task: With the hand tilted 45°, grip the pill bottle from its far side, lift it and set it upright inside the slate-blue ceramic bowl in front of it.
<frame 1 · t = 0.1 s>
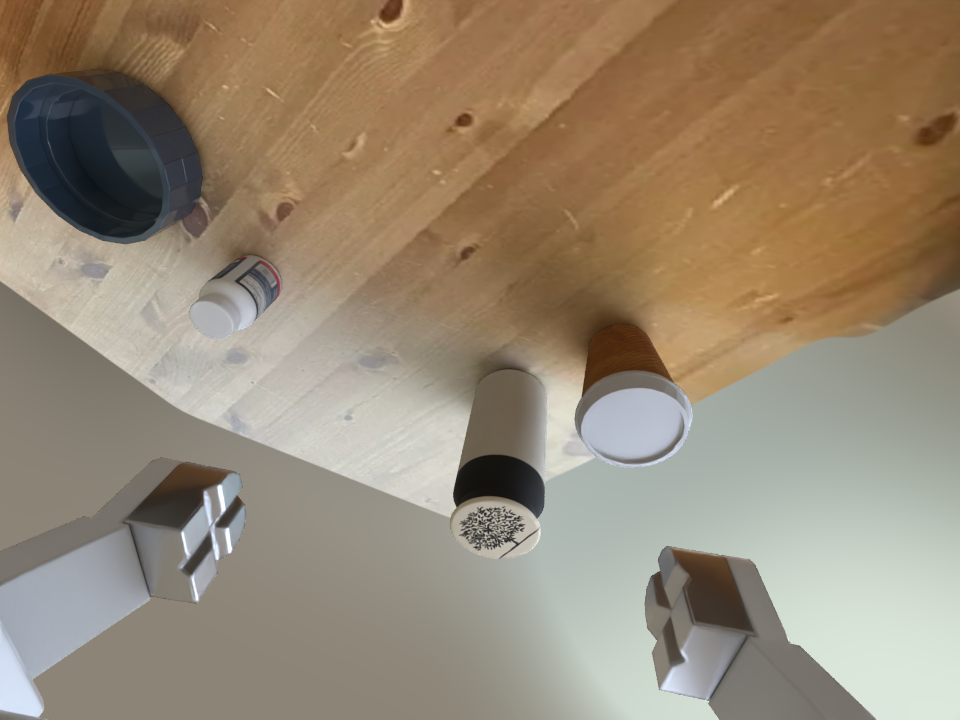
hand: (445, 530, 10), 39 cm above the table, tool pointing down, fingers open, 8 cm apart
bowl: (135, 152, 47), on the table
travel mug: (511, 396, 57), on the table
pill bottle: (259, 277, 53), on the table
disposable coffee cup: (619, 350, 52), on the table
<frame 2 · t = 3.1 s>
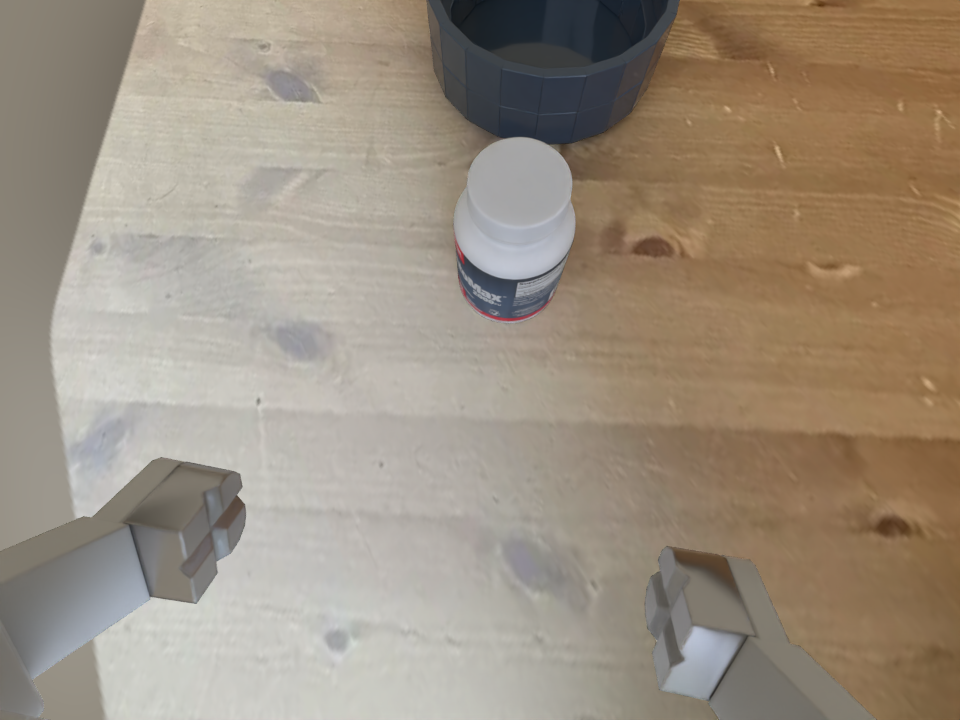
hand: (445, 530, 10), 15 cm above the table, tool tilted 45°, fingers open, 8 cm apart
bowl: (541, 62, 32), on the table
pill bottle: (507, 281, 28), on the table
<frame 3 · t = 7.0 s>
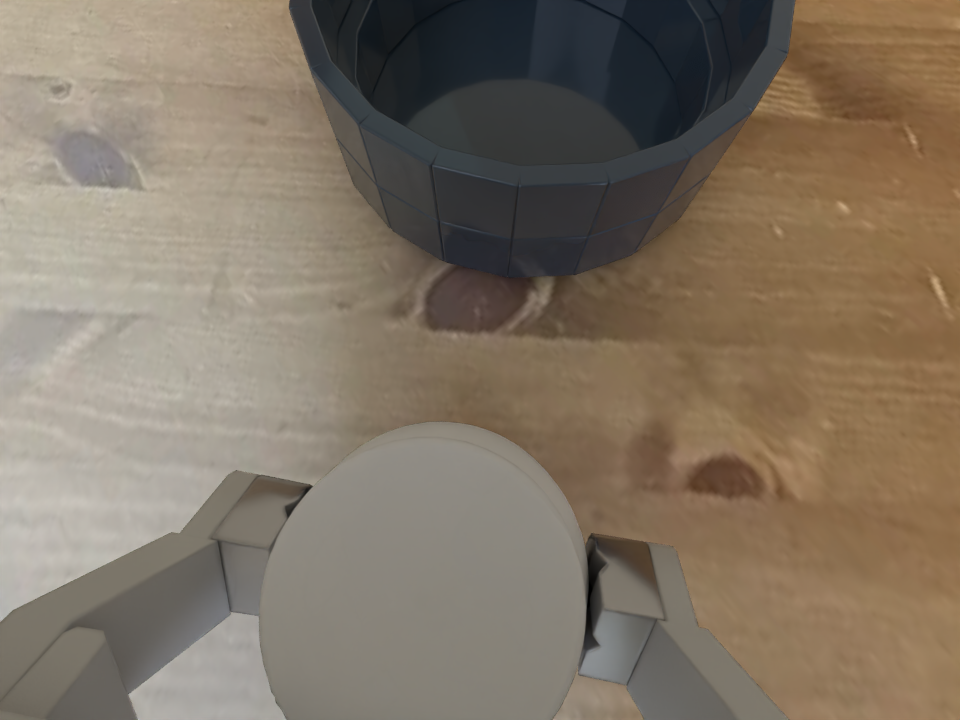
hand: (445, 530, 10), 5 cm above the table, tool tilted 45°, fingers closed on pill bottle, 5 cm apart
bowl: (524, 121, 19), on the table
pill bottle: (453, 546, 15), on the table, touching gripper
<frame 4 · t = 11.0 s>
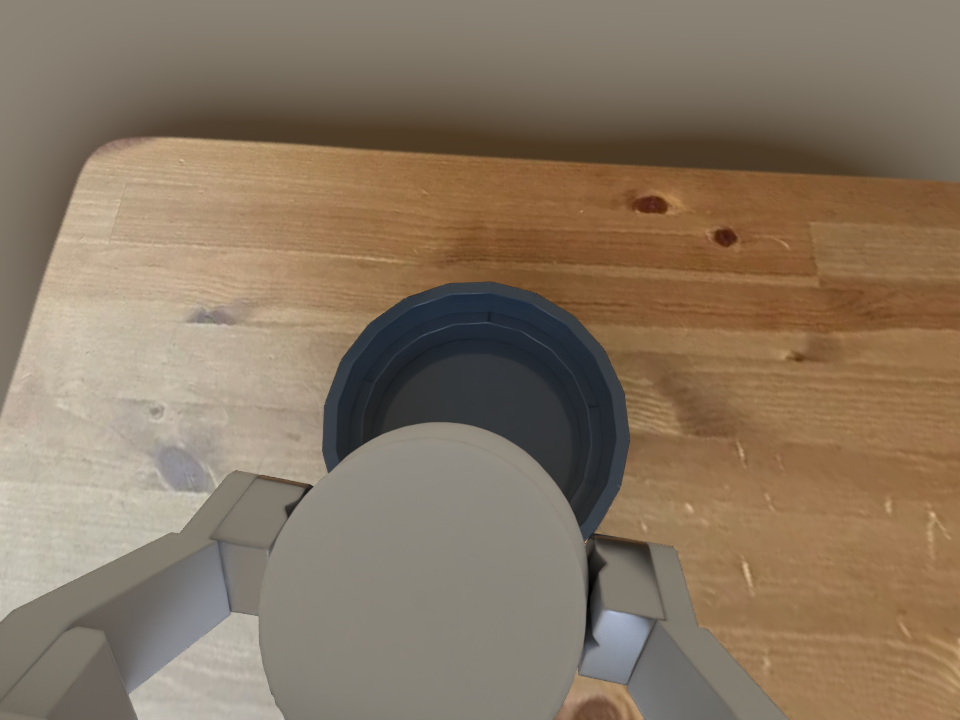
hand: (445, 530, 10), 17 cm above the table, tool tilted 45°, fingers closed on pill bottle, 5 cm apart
bowl: (476, 438, 28), on the table
pill bottle: (453, 547, 15), point 12 cm above the table, touching gripper
when the fingers open (6 cm above the table, at t = 15.3 s): pill bottle stays where it is, resting on bowl.
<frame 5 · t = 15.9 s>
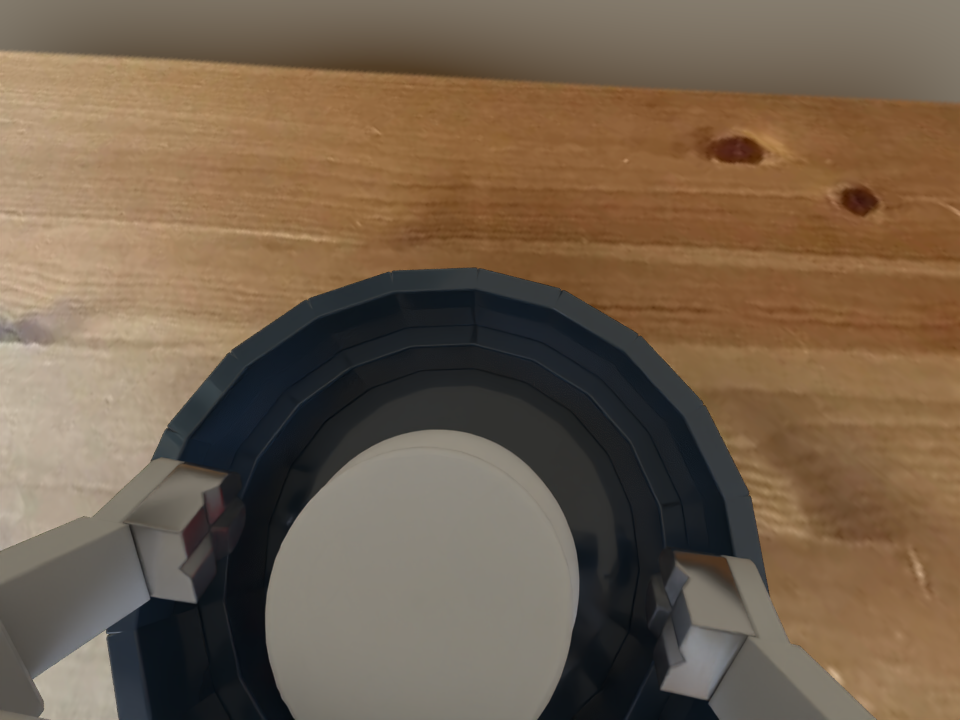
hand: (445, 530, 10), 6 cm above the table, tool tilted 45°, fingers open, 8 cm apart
bowl: (453, 545, 16), on the table
pill bottle: (451, 549, 15), point 1 cm above the table, touching bowl
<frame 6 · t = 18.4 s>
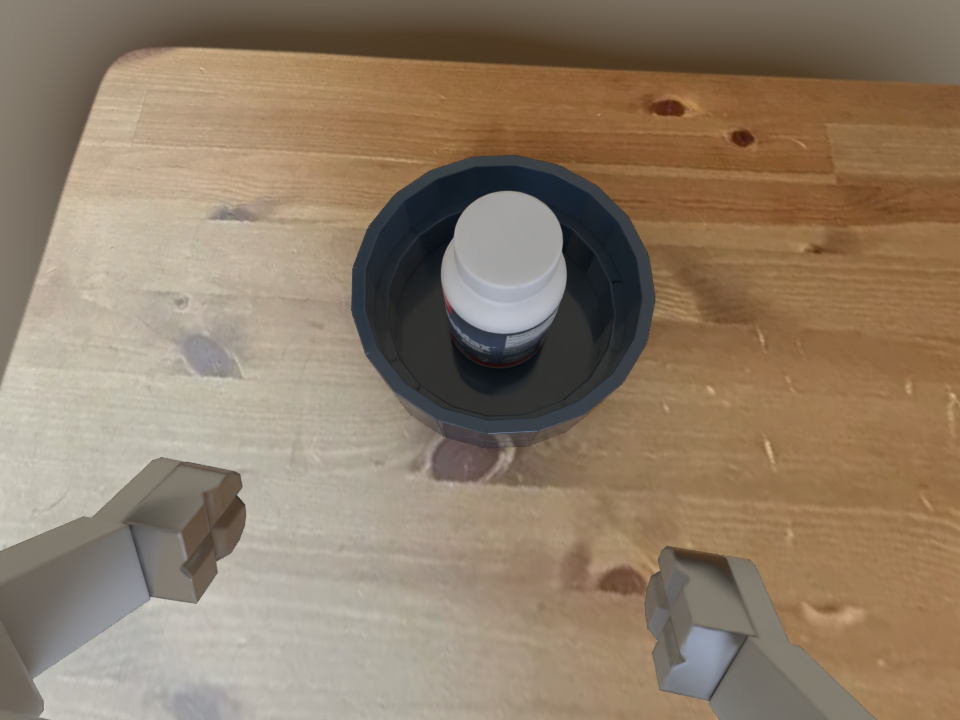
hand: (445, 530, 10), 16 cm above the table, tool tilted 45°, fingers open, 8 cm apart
bowl: (498, 326, 28), on the table
pill bottle: (498, 324, 27), point 1 cm above the table, touching bowl
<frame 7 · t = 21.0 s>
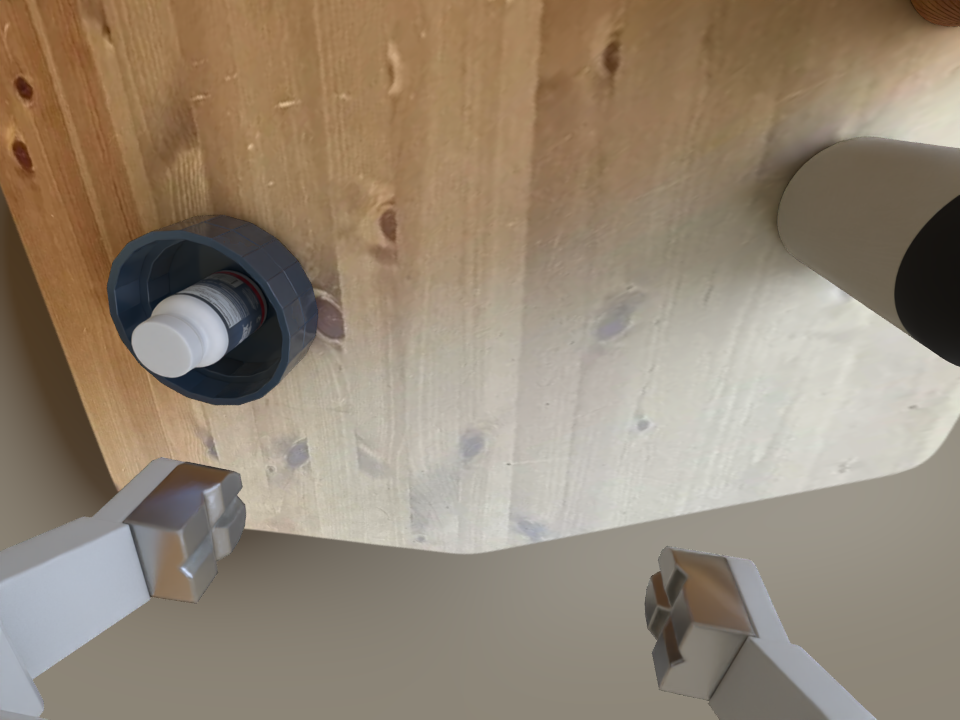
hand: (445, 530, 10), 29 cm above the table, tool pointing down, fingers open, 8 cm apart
bowl: (240, 297, 41), on the table
travel mug: (842, 204, 32), on the table
pill bottle: (238, 300, 40), point 1 cm above the table, touching bowl
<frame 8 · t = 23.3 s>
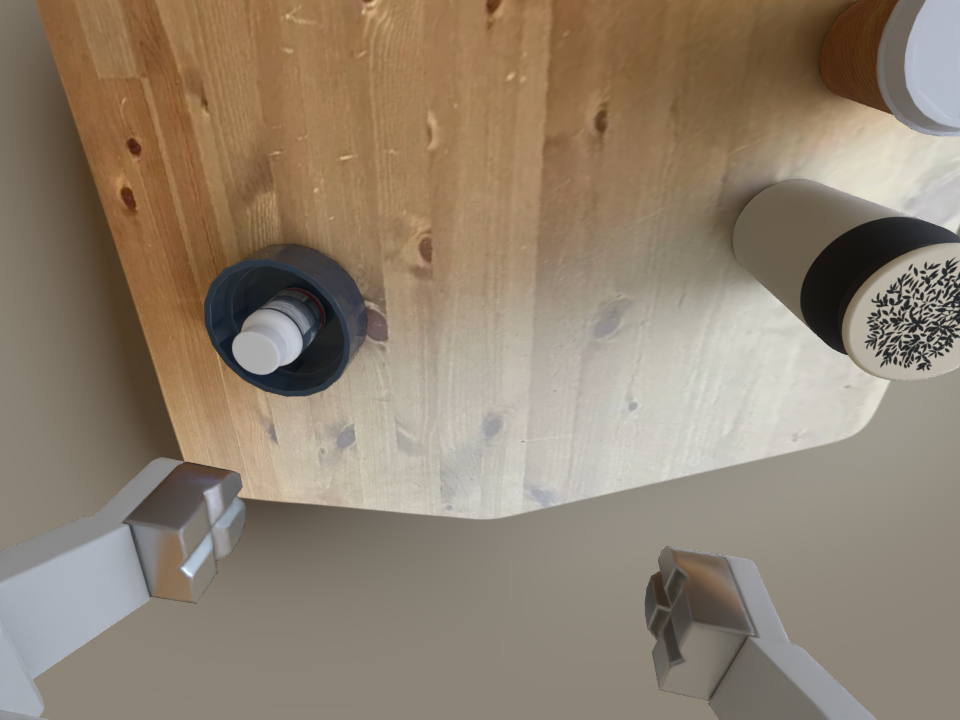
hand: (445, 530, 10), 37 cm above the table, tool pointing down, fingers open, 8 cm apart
bowl: (303, 309, 50), on the table
travel mug: (782, 229, 42), on the table
pill bottle: (301, 311, 50), point 1 cm above the table, touching bowl
disposable coffee cup: (867, 48, 36), on the table
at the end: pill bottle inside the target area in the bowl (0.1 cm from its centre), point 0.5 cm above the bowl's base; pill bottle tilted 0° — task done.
